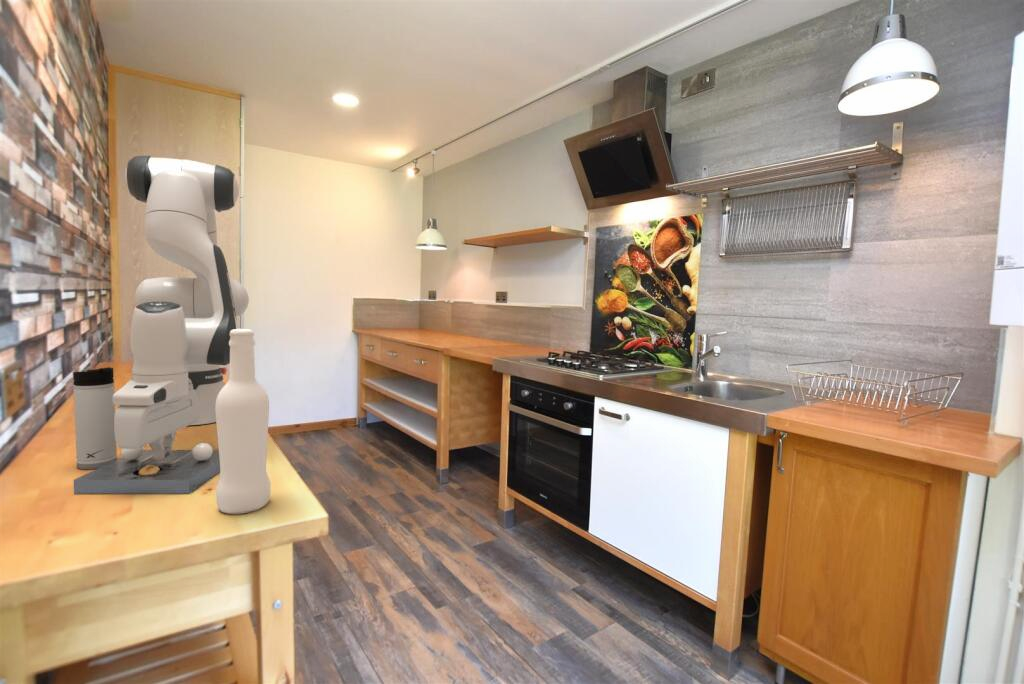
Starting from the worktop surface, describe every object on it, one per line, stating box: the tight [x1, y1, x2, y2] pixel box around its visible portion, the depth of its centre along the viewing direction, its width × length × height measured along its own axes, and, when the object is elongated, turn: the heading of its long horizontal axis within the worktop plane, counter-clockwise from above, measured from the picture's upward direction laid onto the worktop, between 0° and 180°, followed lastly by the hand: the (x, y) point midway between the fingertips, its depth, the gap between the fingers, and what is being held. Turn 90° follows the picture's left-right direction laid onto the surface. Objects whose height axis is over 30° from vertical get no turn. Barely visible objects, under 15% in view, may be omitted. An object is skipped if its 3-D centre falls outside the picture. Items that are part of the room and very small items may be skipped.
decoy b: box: [120, 446, 144, 461], centre depth 96 cm, size 4×4×4 cm
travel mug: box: [72, 366, 118, 471], centre depth 100 cm, size 6×7×20 cm
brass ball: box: [138, 465, 161, 475], centre depth 92 cm, size 4×4×4 cm
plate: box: [73, 449, 220, 495], centre depth 95 cm, size 17×19×3 cm
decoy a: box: [192, 442, 214, 461], centre depth 98 cm, size 4×4×4 cm
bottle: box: [215, 328, 272, 515], centre depth 83 cm, size 8×8×30 cm
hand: (162, 457), depth 96 cm, fingers closed
